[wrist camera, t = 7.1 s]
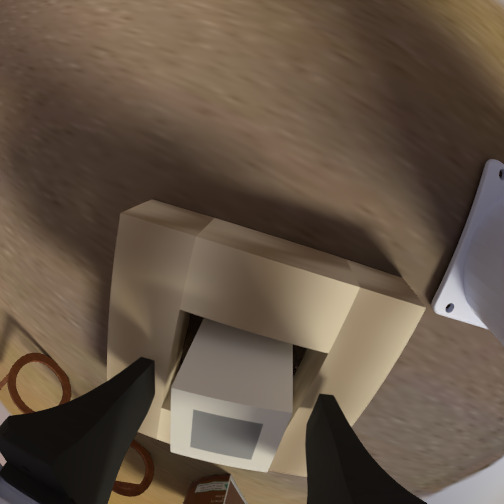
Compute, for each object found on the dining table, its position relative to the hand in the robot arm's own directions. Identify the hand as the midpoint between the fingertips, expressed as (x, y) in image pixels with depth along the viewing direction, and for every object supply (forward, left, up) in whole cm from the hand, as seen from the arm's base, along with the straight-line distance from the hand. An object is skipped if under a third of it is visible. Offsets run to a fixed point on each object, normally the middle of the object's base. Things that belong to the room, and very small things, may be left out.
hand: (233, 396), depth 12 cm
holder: (0, 0, -4) cm, 4 cm away
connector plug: (0, 0, -4) cm, 4 cm away
